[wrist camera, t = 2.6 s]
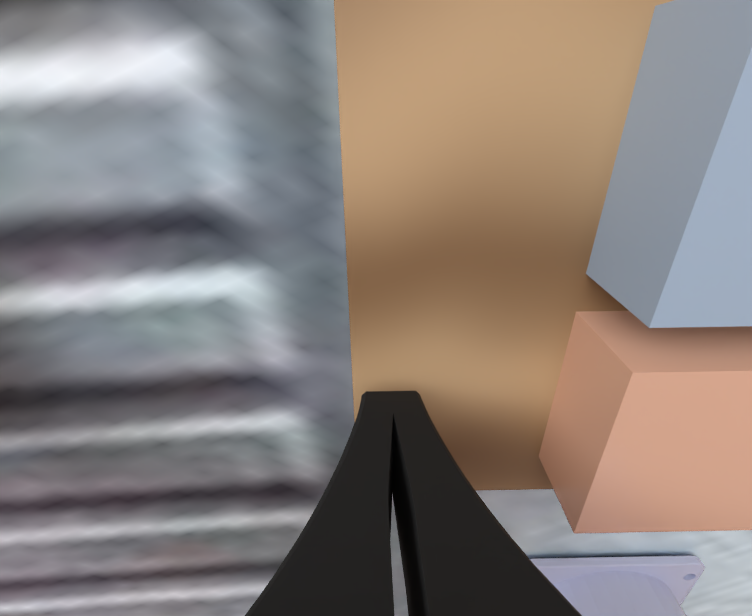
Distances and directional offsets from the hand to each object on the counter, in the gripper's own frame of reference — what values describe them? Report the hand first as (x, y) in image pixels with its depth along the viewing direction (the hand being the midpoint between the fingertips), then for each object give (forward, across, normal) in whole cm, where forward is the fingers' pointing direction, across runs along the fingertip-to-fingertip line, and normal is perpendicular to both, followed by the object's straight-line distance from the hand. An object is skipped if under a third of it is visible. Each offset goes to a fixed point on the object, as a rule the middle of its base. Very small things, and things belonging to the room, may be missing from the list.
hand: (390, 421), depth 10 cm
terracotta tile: (+1, -7, 0) cm, 7 cm away
